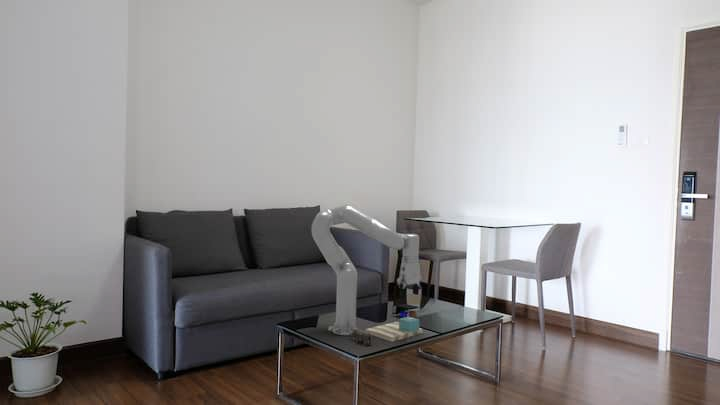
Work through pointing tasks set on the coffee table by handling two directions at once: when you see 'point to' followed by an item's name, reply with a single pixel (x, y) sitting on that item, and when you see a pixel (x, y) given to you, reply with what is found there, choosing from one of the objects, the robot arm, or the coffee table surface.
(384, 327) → the hub board
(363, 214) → the robot arm
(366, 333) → the rhino figurine
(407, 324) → the teal drawer cube
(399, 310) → the figurine character
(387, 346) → the coffee table surface
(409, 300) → the coffee cup
